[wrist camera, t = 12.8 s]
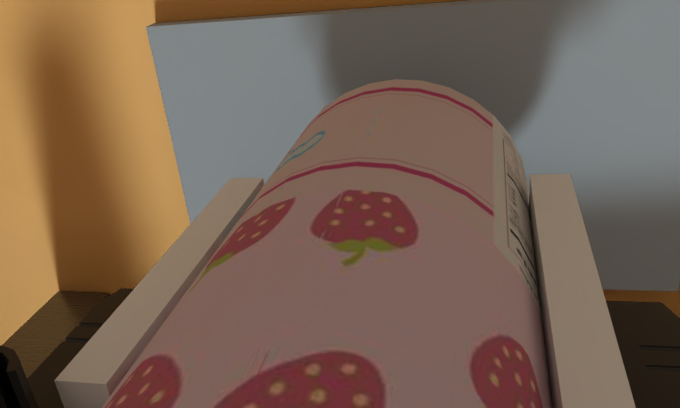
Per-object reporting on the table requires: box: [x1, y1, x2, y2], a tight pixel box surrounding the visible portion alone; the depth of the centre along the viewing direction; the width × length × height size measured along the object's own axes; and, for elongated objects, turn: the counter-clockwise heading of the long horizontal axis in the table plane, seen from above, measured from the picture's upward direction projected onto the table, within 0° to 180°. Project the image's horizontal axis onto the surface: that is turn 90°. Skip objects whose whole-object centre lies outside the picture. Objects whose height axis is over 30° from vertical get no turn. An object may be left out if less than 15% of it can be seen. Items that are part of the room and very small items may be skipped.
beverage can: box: [102, 79, 553, 408], centre depth 9 cm, size 6×6×15 cm
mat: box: [146, 0, 680, 291], centre depth 18 cm, size 14×8×1 cm, turn 96°
